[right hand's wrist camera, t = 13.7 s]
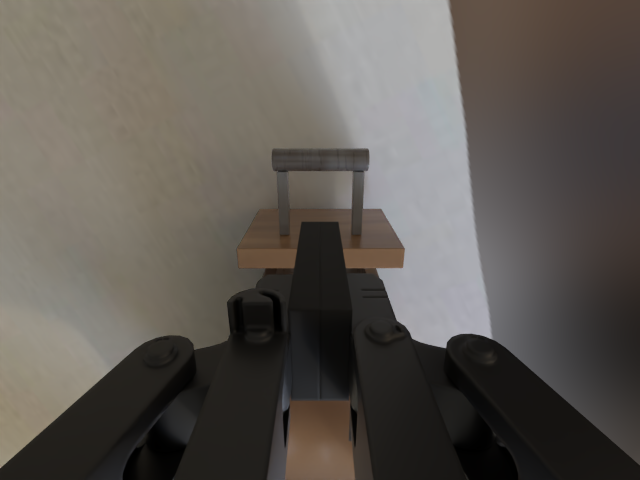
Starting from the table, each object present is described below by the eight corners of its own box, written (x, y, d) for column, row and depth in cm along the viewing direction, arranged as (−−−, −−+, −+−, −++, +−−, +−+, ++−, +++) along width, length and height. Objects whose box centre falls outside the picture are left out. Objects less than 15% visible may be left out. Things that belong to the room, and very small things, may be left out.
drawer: (255, 139, 25) (227, 154, 17) (385, 139, 25) (413, 154, 17) (270, 380, 32) (256, 461, 25) (370, 380, 32) (385, 461, 25)
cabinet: (261, 308, 31) (236, 396, 21) (379, 308, 31) (405, 395, 21) (271, 453, 37) (255, 569, 28) (369, 453, 37) (386, 568, 28)
